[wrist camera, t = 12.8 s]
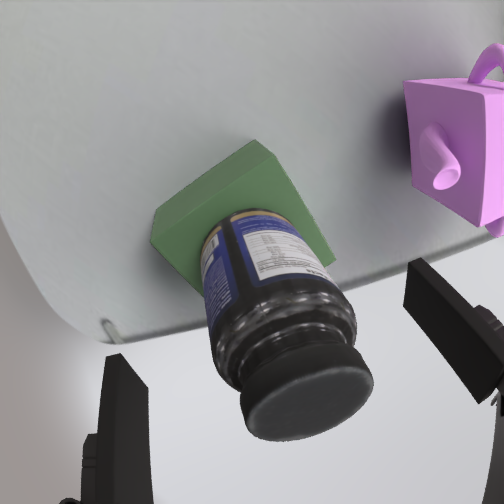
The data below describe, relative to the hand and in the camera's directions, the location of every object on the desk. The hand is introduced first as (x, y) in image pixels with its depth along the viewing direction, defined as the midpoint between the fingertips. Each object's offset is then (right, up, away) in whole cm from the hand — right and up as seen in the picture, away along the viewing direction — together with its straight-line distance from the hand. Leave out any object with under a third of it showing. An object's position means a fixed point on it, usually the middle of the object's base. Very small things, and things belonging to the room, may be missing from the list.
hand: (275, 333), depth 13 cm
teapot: (+16, +15, +9) cm, 23 cm away
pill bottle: (-1, +4, +6) cm, 7 cm away
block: (-2, +6, +10) cm, 12 cm away
